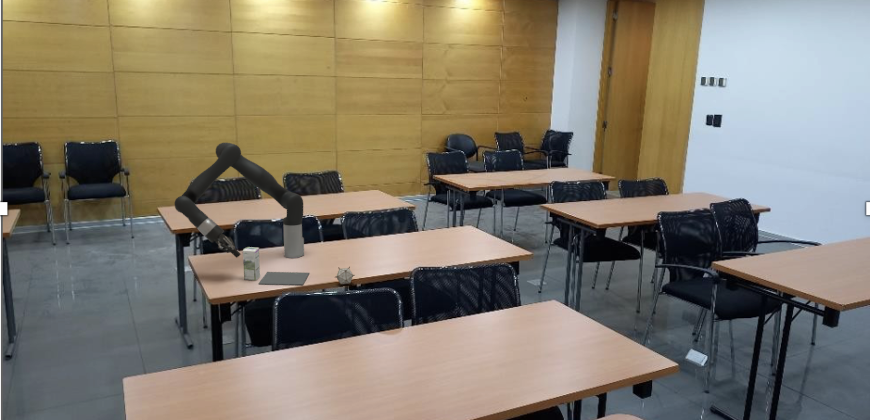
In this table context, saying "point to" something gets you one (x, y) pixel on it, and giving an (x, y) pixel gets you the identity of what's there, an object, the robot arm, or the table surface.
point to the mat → (284, 278)
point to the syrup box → (251, 263)
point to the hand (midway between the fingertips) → (238, 256)
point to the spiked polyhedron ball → (344, 276)
